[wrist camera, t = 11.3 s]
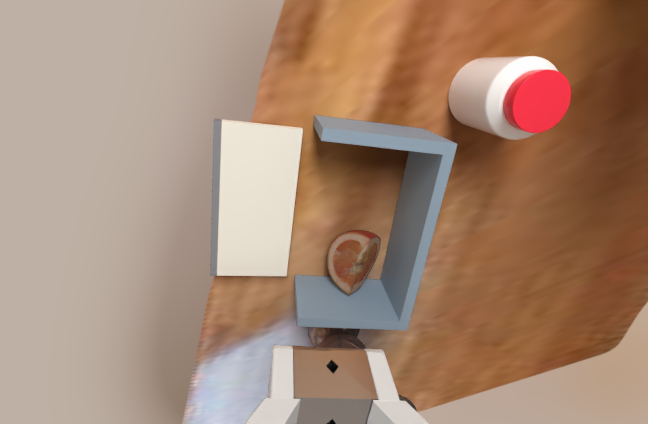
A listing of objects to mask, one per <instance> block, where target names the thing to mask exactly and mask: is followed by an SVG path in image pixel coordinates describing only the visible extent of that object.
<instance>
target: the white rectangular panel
mask: <svg viewBox="0 0 648 424" xmlns="http://www.w3.org/2000/svg"><path fill="white" fill-rule="evenodd" d="M302 134H303V129H302V128H298V127H289V126H279V125H270V124H260V123H251V122H241V121H232V120H221V119H214V138H213V139H214V140H213V179H212V180H213V181H212V183H213V184H212V223H211V225H212V226H211V264H210V266H211V267H210V275H211V276H287V267H288V258H289V250H290V241H291V232H292V223H293V214H294V205H295V196H296V187H297V179H298V170H299V161H300V152H301V143H302Z"/></svg>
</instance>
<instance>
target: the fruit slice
mask: <svg viewBox="0 0 648 424" xmlns="http://www.w3.org/2000/svg"><path fill="white" fill-rule="evenodd" d="M379 249H380V237H379V236H377V235H375V234H373V233H371V232H368V231H363V230H352V231H348V232H345V233H343V234H341V235H339V236H338V237H337V238H336V239H335V240H334V241H333V242H332V244H331V246H330V248H329V251H328V258H327V265H328V271H329V274H330V276H331V278H332V279H333V281H334V282H335V283H336V285H337V286H338V287H339V288H341V289H342V291H344V292H345V293H347V294H348V295H351V294H352V293H354V292H355V291H357V289H359V288H360V287H361V286H362V284H363V283H364V281H365V279H366V277H367V275H368V274H369V272H370V270H371V268H372V266H373V264H374V262H375V260H376V258H377V255H378V252H379Z"/></svg>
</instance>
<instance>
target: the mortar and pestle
mask: <svg viewBox="0 0 648 424" xmlns="http://www.w3.org/2000/svg"><path fill="white" fill-rule="evenodd" d="M359 330H360V329H354V328H326V327H309V337H310V340H311V342H312V344H313V346H314V347H320V348H351V349H366V347H365V345H364V344H363V343H362V342H361V341H360V340H359V339H357V336H358V333H359ZM398 396H399V399H400V401H406V402H407V403H408V404H409V405H410V406H411V407H412V408H414V409H415V410H416V408H415V406H414V405H413V403H412V402H411V401H410V400H409V399H407V398H406V397H403V396H401V395H399V394H398ZM416 411H417V410H416Z"/></svg>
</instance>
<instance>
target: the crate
mask: <svg viewBox="0 0 648 424" xmlns="http://www.w3.org/2000/svg"><path fill="white" fill-rule="evenodd" d="M313 126H314V128H315V130H316V132H317V134H318V135H319V137H320V139H321V141H327V142H336V143H345V144H353V145H362V146H371V147H379V148H388V149H397V150H405V151H409V153H408V158H407V162H406V167H405V171H404V176H403V180H402V185H401V189H400V194H399V198H398V202H397V207H396V211H395V216H394V220H393V225H392V229H391V234H390V238H389V243H388V247H387V252H386V256H385V261H384V265H383V270H382V274H381V279H380V280H376V279H365V281H364V283H363V284H362V286H361V287H360V288H359V289H357V291H355V292H354V293H352V294H351V295H348V294H347V293H345V292H344V291H342V289H341V288H339V287H338V286H337V285H336V283H335V282H334V281H333V279H332V278H331V277H324V276H307V275H295V279H294V290H295V306H296V323H297V326H298V327H326V328H354V329H382V330H407V329H408V326H409V322H410V318H411V314H412V311H413V307H414V303H415V300H416V296H417V292H418V289H419V285H420V281H421V278H422V274H423V270H424V266H425V263H426V259H427V255H428V252H429V248H430V244H431V241H432V237H433V233H434V229H435V226H436V222H437V218H438V215H439V211H440V207H441V204H442V200H443V196H444V193H445V189H446V185H447V181H448V178H449V174H450V170H451V167H452V163H453V159H454V156H455V152H456V148H457V143H454V142H452V141H450V140H448V139H445V138H443V137H441V136H439V135H437V134H434V133H432V132H430V131H428V130H426V129H422V128H414V127H406V126H398V125H390V124H383V123H375V122H367V121H359V120H351V119H343V118H335V117H327V116H319V115H314V124H313Z"/></svg>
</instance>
